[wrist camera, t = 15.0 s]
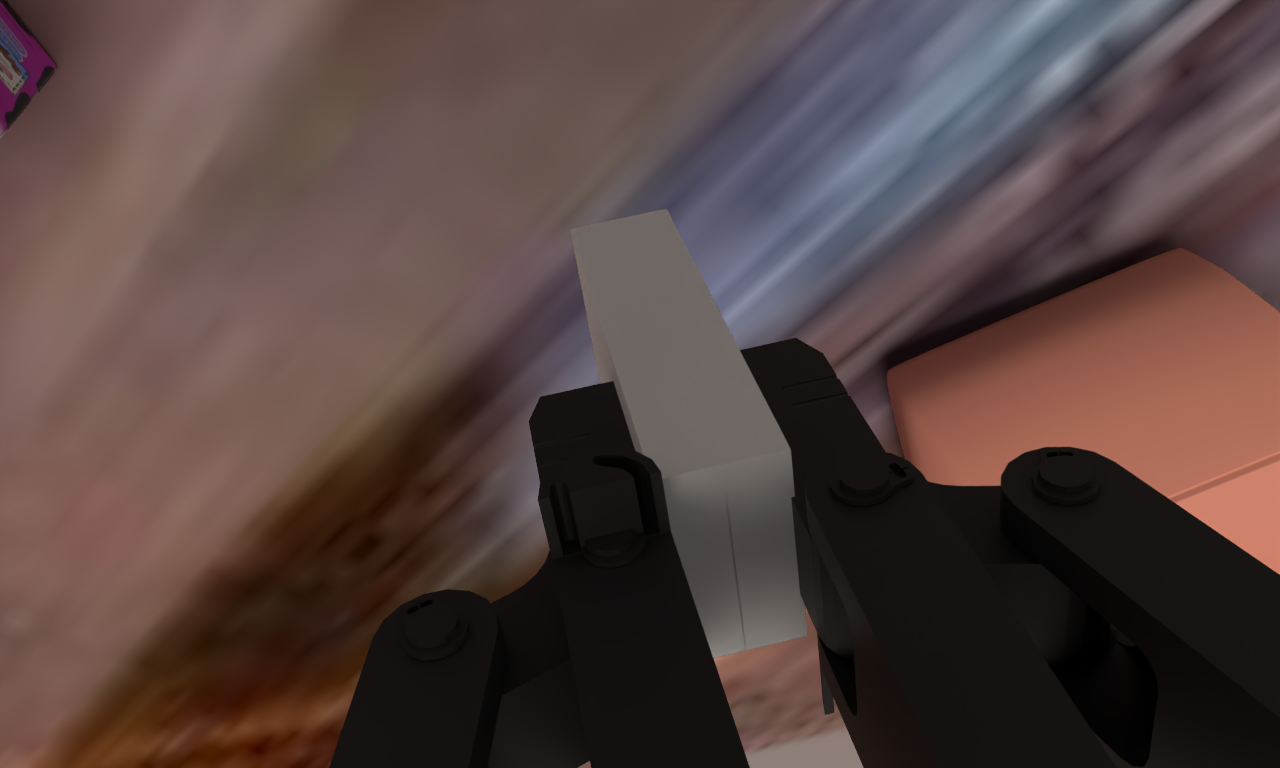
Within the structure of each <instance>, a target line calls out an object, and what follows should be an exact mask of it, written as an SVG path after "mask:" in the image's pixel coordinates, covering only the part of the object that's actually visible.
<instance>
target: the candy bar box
mask: <svg viewBox="0 0 1280 768" xmlns="http://www.w3.org/2000/svg"><path fill="white" fill-rule="evenodd" d="M55 70H56V65H55V63H54V62H53V61H52V59H51V58H50V57H49V56H48V54H47V53H46V52H45V51H44V50H43V48H42V47H41V46H40V45H39V44H38V42H37V41H36V40H35V39H34V38H33V36H32V35H31V34H30V33H29V31H28V30H27V29H26V28H25V26H24V25H23V24H22V23H21V22H20V20H19V19H18V18H17V17H16V16H15V14H14V13H13V12H12V11H11V10H10V8H9V7H8V6H7V5H6V4H5V2H4V1H3V0H0V139H1V137H2V136H3V135H4V133H5V132H6V131H7V130H8V128H9V127H10V126H11V125H12V124H13V122H14V121H15V120H16V119H17V117H18V116H19V115H20V114H21V113H22V111H23V110H24V109H25V108H26V107H27V105H28V104H29V103H30V101H31V100H32V99H33V98H34V97H35V95H36V94H37V93H38V92H39V91H40V90H41V89H42V87H43V86H44V85H45V84H46V83H47V81H48V80H49V79H50V77H51V76H52V75H53V74H54V72H55Z"/></svg>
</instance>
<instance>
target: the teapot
mask: <svg viewBox="0 0 1280 768" xmlns="http://www.w3.org/2000/svg"><path fill="white" fill-rule="evenodd" d="M887 386H888V392H889V398H890V402H891V407H892V411H893V415H894V419H895V424H896V427H897V431H898V435H899V439H900V443H901V447H902V450H903V454H904V458H905V460H908V461H910V462H911V463H912V464H913V465H914V466H915V467H916V468H917V469H918V470H919V471H920V472H922V474H923V475H924V477H925V478H926V480H927V481H928V482H933V483H937V484H942V485H955V486H1001V475H1002V473H1003V472H1004V470H1005V468H1006V466H1007V464H1008V463H1009V462H1010V461H1012V460H1013V459H1015V458H1017V457H1018V456H1020V455H1021V454H1023V453H1025V452H1028V451H1032V450H1036V449H1040V448H1044V447H1074V448H1079V449H1084V450H1089V451H1093V452H1096V453H1098V454H1100V455H1102V456H1104V457H1106V458H1108V459H1110V460H1112V461H1114V462H1116V463H1117V464H1119V465H1120V466H1122V467H1123V468H1125V469H1126V470H1128V471H1129V472H1131V473H1132V474H1134V475H1135V476H1136V477H1138V478H1139V479H1141V480H1142V481H1144V482H1145V483H1147V484H1148V485H1150V486H1151V487H1152V488H1154V489H1155V490H1157V491H1158V492H1160V493H1161V494H1163V495H1164V496H1166V497H1167V498H1169V499H1170V500H1171V501H1173V502H1174V503H1176V504H1177V505H1179V506H1180V507H1182V508H1183V509H1185V510H1186V511H1187V512H1189V513H1190V514H1192V515H1193V516H1195V517H1196V518H1198V519H1199V520H1201V521H1202V522H1204V523H1205V524H1206V525H1208V526H1209V527H1211V528H1212V529H1214V530H1215V531H1217V532H1218V533H1220V534H1221V535H1223V536H1224V537H1225V538H1227V539H1228V540H1230V541H1231V542H1233V543H1234V544H1236V545H1237V546H1239V547H1240V548H1241V549H1243V550H1244V551H1246V552H1247V553H1249V554H1250V555H1252V556H1253V557H1255V558H1256V559H1258V560H1259V561H1260V562H1262V563H1263V564H1265V565H1266V566H1268V567H1269V568H1271V569H1272V570H1274V571H1275V572H1276V573H1278V574H1279V575H1280V312H1278V311H1277V310H1276V309H1275V308H1273V307H1272V306H1271V305H1270V304H1268V303H1267V302H1266V301H1265V300H1263V299H1262V298H1261V297H1260V296H1258V295H1257V294H1256V293H1254V292H1253V291H1252V290H1250V289H1249V288H1248V287H1247V286H1245V285H1244V284H1243V283H1241V282H1240V281H1239V280H1237V279H1236V278H1234V277H1233V276H1232V275H1230V274H1229V273H1228V272H1226V271H1225V270H1223V269H1222V268H1220V267H1218V266H1217V265H1215V264H1213V263H1211V262H1209V261H1207V260H1205V259H1204V258H1202V257H1200V256H1198V255H1196V254H1194V253H1192V252H1190V251H1188V250H1185V249H1183V248H1181V247H1179V248H1176V249H1173V250H1170V251H1167V252H1164V253H1162V254H1159V255H1157V256H1154V257H1152V258H1149V259H1147V260H1144V261H1142V262H1139V263H1136V264H1134V265H1131V266H1129V267H1127V268H1124V269H1122V270H1119V271H1117V272H1114V273H1112V274H1110V275H1107V276H1105V277H1102V278H1100V279H1098V280H1095V281H1093V282H1090V283H1088V284H1085V285H1083V286H1081V287H1078V288H1076V289H1073V290H1071V291H1068V292H1066V293H1064V294H1061V295H1059V296H1056V297H1054V298H1052V299H1049V300H1047V301H1044V302H1042V303H1039V304H1037V305H1035V306H1032V307H1030V308H1027V309H1025V310H1023V311H1020V312H1018V313H1016V314H1013V315H1011V316H1009V317H1007V318H1004V319H1002V320H1000V321H997V322H995V323H993V324H990V325H988V326H986V327H983V328H981V329H979V330H976V331H974V332H972V333H969V334H967V335H965V336H962V337H960V338H957V339H955V340H953V341H950V342H948V343H946V344H943V345H941V346H939V347H936V348H934V349H932V350H930V351H927V352H925V353H923V354H921V355H919V356H916V357H914V358H912V359H910V360H907V361H905V362H903V363H901V364H899V365H897V366H895V367H893V368H891V369H889V370H888V372H887Z"/></svg>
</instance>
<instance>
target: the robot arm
mask: <svg viewBox="0 0 1280 768" xmlns="http://www.w3.org/2000/svg"><path fill="white" fill-rule="evenodd" d="M570 230H571V235H572V240H573V246H574V251H575V256H576V261H577V267H578V272H579V277H580V282H581V287H582V293H583V298H584V303H585V308H586V313H587V319H588V324H589V329H590V334H591V340H592V345H593V350H594V355H595V360H596V366H597V371H598V376H599V381H600V384H597V385H592V386H588V387H583V388H579V389H574V390H570V391H565V392H561V393H556V394H551V395H547V396H542V397H540V399H539V401H538V403H537V405H536V407H535V409H534V411H533V414H532V416H531V418H530V420H529V425H530V430H531V436H532V441H533V446H534V452H535V457H536V463H537V467H538V473H539V479H540V488H539V496H538V502H539V506H540V510H541V514H542V519H543V523H544V527H545V531H546V535H547V539H548V543H549V548H550V551H549V554H548V557H547V559H546V562H545V563H544V565H543V566H542V567H541V569H540V570H539V572H538V573H537V574H536V575H535V576H534V577H533V578H532V579H531V580H529V581H528V582H527V583H526V584H525V585H524V586H522V587H520V588H519V589H517V590H515V591H514V592H512V593H510V594H509V595H507V596H505V597H503V598H501V599H499V600H497V601H495V602H493V603H491V604H490V602H489V601H488V600H487V599H486V598H483V597H481V596H479V595H477V594H475V593H473V592H471V591H462V590H449V589H447V590H442V591H437V592H432V593H427V594H423V595H421V596H419V597H417V598H415V599H413V600H411V601H409V602H406V603H404V604H402V605H401V606H399V607H398V608H397V609H396V610H395V611H394V612H393V613H391V614H390V615H389V616H388V617H387V618H386V619H384V620H383V622H382V624H381V625H380V627H379V629H378V630H377V632H376V634H375V635H374V637H373V639H372V642H371V645H370V648H369V651H368V654H367V657H366V660H365V663H364V666H363V669H362V672H361V675H360V678H359V681H358V684H357V687H356V690H355V693H354V696H353V699H352V702H351V705H350V708H349V711H348V714H347V717H346V720H345V723H344V726H343V728H342V731H341V734H340V737H339V740H338V743H337V746H336V749H335V752H334V755H333V758H332V761H331V764H330V767H329V768H577V767H579V766H581V765H583V764H585V763H586V762H588V761H590V763H591V768H750V767H749V765H748V762H747V758H746V755H745V752H744V749H743V746H742V743H741V740H740V737H739V734H738V731H737V728H736V725H735V722H734V719H733V716H732V713H731V710H730V707H729V704H728V701H727V698H726V695H725V692H724V689H723V686H722V683H721V680H720V677H719V674H718V671H717V668H716V665H715V662H714V659H713V658H717V657H721V656H726V655H730V654H734V653H738V652H742V651H746V650H750V649H755V648H759V647H763V646H767V645H771V644H775V643H780V642H784V641H788V640H792V639H796V638H800V637H804V636H808V634H807V623H806V612H805V606H806V608H807V611H808V613H809V615H810V617H811V620H812V622H813V624H814V626H815V629H816V631H817V637H818V649H819V661H820V673H821V685H822V697H823V704H824V711H825V715H826V714H830V713H834V702H833V697H834V700H835V702H836V704H837V707H838V709H839V711H840V714H841V716H842V718H843V721H844V723H845V725H846V728H847V730H848V732H849V735H850V737H851V739H852V742H853V744H854V746H855V748H856V751H857V753H858V756H859V758H860V760H861V762H862V765H863V767H864V768H1280V575H1279V574H1278V573H1276V572H1275V571H1274V570H1272V569H1271V568H1269V567H1268V566H1266V565H1265V564H1263V563H1262V562H1260V561H1259V560H1258V559H1256V558H1255V557H1253V556H1252V555H1250V554H1249V553H1247V552H1246V551H1244V550H1243V549H1241V548H1240V547H1239V546H1237V545H1236V544H1234V543H1233V542H1231V541H1230V540H1228V539H1227V538H1225V537H1224V536H1223V535H1221V534H1220V533H1218V532H1217V531H1215V530H1214V529H1212V528H1211V527H1209V526H1208V525H1206V524H1205V523H1204V522H1202V521H1201V520H1199V519H1198V518H1196V517H1195V516H1193V515H1192V514H1190V513H1189V512H1187V511H1186V510H1185V509H1183V508H1182V507H1180V506H1179V505H1177V504H1176V503H1174V502H1173V501H1171V500H1170V499H1169V498H1167V497H1166V496H1164V495H1163V494H1161V493H1160V492H1158V491H1157V490H1155V489H1154V488H1152V487H1151V486H1150V485H1148V484H1147V483H1145V482H1144V481H1142V480H1141V479H1139V478H1138V477H1136V476H1135V475H1134V474H1132V473H1131V472H1129V471H1128V470H1126V469H1125V468H1123V467H1122V466H1120V465H1119V464H1117V463H1116V462H1114V461H1112V460H1110V459H1108V458H1106V457H1104V456H1102V455H1100V454H1098V453H1096V452H1093V451H1089V450H1084V449H1079V448H1074V447H1044V448H1040V449H1036V450H1032V451H1028V452H1025V453H1023V454H1021V455H1020V456H1018V457H1017V458H1015V459H1013V460H1012V461H1010V462H1009V463H1008V464H1007V466H1006V468H1005V470H1004V472H1003V473H1002V475H1001V486H955V485H942V484H937V483H933V482H928V481H927V480H926V478H925V477H924V475H923V474H922V472H920V471H919V470H918V469H917V468H916V467H915V466H914V465H913V464H912V463H911V462H910V461H908V460H905V459H903V458H901V457H898V456H896V455H893V454H891V453H886V452H885V450H884V449H883V447H882V446H881V444H880V443H879V441H878V439H877V438H876V436H875V435H874V433H873V432H872V430H871V428H870V427H869V425H868V424H867V422H866V421H865V419H864V417H863V416H862V414H861V413H860V411H859V410H858V408H857V406H856V405H855V403H854V402H853V400H852V399H851V397H850V396H848V394H847V391H846V389H845V388H844V386H843V384H842V383H841V381H840V380H839V379H837V376H836V373H835V372H834V370H833V369H832V367H831V366H830V364H829V362H828V361H827V359H826V358H825V356H824V355H823V353H821V352H819V351H818V350H816V349H814V348H813V347H811V346H809V345H807V344H806V343H804V342H802V341H800V340H799V339H797V338H794V339H789V340H784V341H780V342H775V343H771V344H766V345H762V346H757V347H753V348H748V349H744V350H739V348H738V346H737V344H736V342H735V340H734V338H733V336H732V334H731V333H730V331H729V329H728V327H727V325H726V323H725V321H724V319H723V317H722V315H721V313H720V311H719V309H718V307H717V305H716V303H715V302H714V300H713V298H712V296H711V294H710V292H709V290H708V288H707V286H706V284H705V282H704V280H703V278H702V276H701V274H700V272H699V271H698V269H697V267H696V265H695V263H694V261H693V259H692V257H691V255H690V253H689V251H688V249H687V247H686V245H685V243H684V241H683V240H682V238H681V236H680V234H679V232H678V230H677V228H676V226H675V224H674V222H673V220H672V218H671V216H670V214H669V212H668V210H667V209H663V210H658V211H654V212H649V213H644V214H639V215H634V216H630V217H625V218H620V219H615V220H611V221H606V222H601V223H596V224H591V225H587V226H582V227H577V228H572V229H570Z"/></svg>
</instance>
